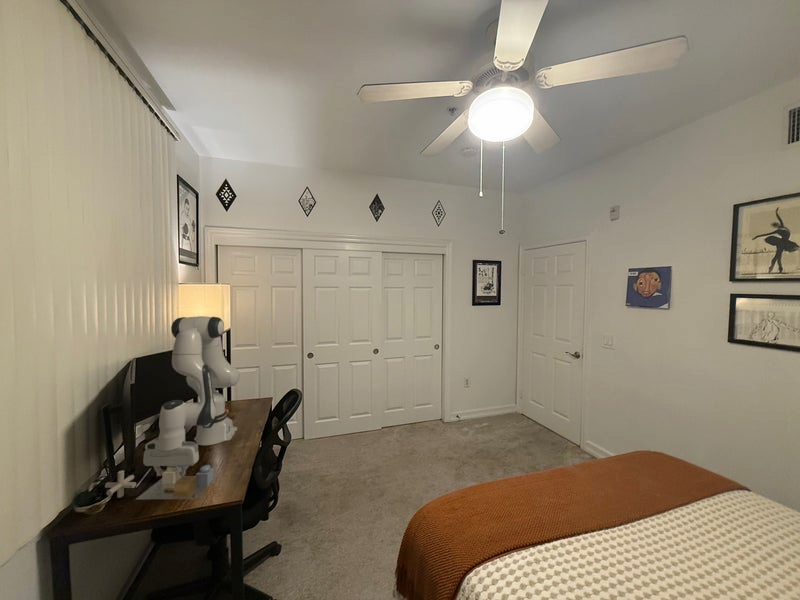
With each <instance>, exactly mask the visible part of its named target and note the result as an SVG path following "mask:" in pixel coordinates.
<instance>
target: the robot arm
mask: <svg viewBox="0 0 800 600" xmlns="http://www.w3.org/2000/svg"><path fill="white" fill-rule="evenodd" d="M170 326H171V327H170V328H171V329H170V330H171V331H170V332H171V334H172V336H173V337H174V338H175V339H174V344H173V348H172V354H171V355H172V356H171V366H172V368H173V370H174V371H176V373H178V374H180V375H182V376H186V378H185V381H186V383H187V385H188V386H189V387H190V388H191V389H193V390H194V391H195V392H196V394H197V395H198V398H199V402H184V401H183V400H181V399H174V400H170V401H166V402H165V403H164V404H162V405H161V408H160V413H159V420H158V426H159V427H158V428H159V435H158V437H156V438H153V439H152V440H150V441H149V442H147V443H146V444H145V446H144V448H145V450H144V453H143V460H142V461H143V465H144V466H145V467H153V470H154V471H155V472H156V477H161V476H162V473H163V472H164V469H162V468H161V467H167V466H182V468H183V470H181V471H180V472H179V474H180V475H179V476H186V472H187V470H188V468H189V467H192V466H194V465H196V464H197V463H198V461H199V459H200V455H199V454H200V453H199V446H210V445H211V446H212V445H217V444H220V443H223V442H227V441H230V440H232V438H233V436H234V435H235V433H236V432H237V431H238V427H237V426H234V424H233V423H234V422H233V420H232V419H231V418H229V417H228V416H227V414H228V413H229V410H230V409H226V408H225V407H226V398H225V396H224V395H223V394H222V393H219V392H218V391H217V390H216V389H217V388H218V389H224V388H230V387H234V386H236V385H237V384H238V383H239V381H240V377H241V375H240V374H241V373H240V371H239V370H238V368H237V367H234V366H232V364H230V363H229V362H228V360H227V359H226V357H225V355H224V350H223V345H222V338H221V336H222V335H223V334H224V330H225V323H224V321H223V319H222V318H221V317H218V316H212V317H211V316H199V315H198V316H190V317H189V316H188V317H185V316H183V317H182V316H181V317H177V318H176V319H175V320H173V322H172V323H171V325H170ZM189 426H190V427H191V426H197V428H196V436H195V437H194V438H193V440H194V441H186V429H185V427H189ZM235 431H236V432H235ZM188 466H189V467H188Z"/></svg>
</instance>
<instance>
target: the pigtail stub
mask: <svg viewBox="0 0 800 600" xmlns="http://www.w3.org/2000/svg"><path fill="white" fill-rule="evenodd" d="M196 487H197V477H182V478H181V479H180V480H179V481H178V482H176V483H175V484H174V488H165V489H164V491H174V495H189V494H190V493H191V492H192V491H193V490H194V489H195V488H196Z"/></svg>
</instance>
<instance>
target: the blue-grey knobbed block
mask: <svg viewBox="0 0 800 600" xmlns="http://www.w3.org/2000/svg"><path fill="white" fill-rule="evenodd" d="M214 469H215V468H214V467H211V465H210V464H204V465H202V466H200V469H199V471H198V472H197V473H196V474H195V476H196V477H197V485H208V484H209V483H210V482H211V481H212V480H213V479H214V476H215V475H214V473H215V470H214Z"/></svg>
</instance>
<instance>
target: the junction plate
mask: <svg viewBox="0 0 800 600" xmlns="http://www.w3.org/2000/svg"><path fill="white" fill-rule="evenodd" d="M218 476H219V475H218ZM218 476H217V475H214V479H213V480H212V481H211V482H210V483H209V484H208V485H197V487H196V488H195V489H194V490H193V491H192V492H191V493H190V494H189V495H174V491H164V489H165V488H174V484H175V483H176V482H178V481H179V480H180V479H181V478H182V477H196V475H191V476H190V475H188V476H187V475H184V476H181V477H180V478H179V479H178V480H177V481H176V482H175V483H174V484H162V478H160V479H159V480H157V482H155V483H154V484H153V485H151V486H150V487H149V488H148V489H146V490H145V491H143V492H142V494H140V495H139V496H138V497H137V498H135V500H196V499H197V498H199V496H200V495H201V494H202V493H203V492H204V491H205V490H206V489H207V488H208V487H209V486H210V485H211V484H212V483H213V482H214V481H215V480H216V479H217V478H218Z"/></svg>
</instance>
